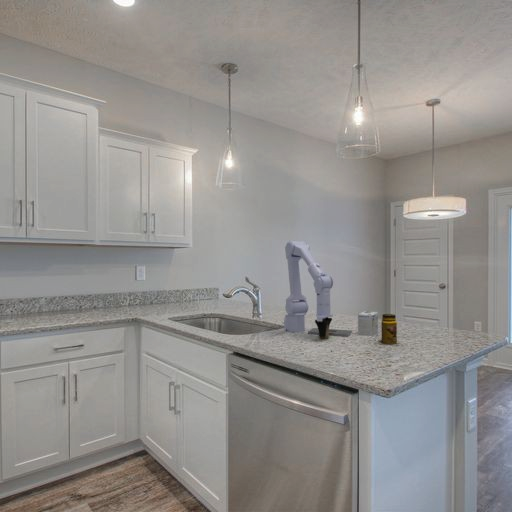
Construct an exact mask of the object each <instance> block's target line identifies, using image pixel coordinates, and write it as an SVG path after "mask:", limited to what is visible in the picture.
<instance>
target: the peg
mask: <svg viewBox="0 0 512 512" xmlns="http://www.w3.org/2000/svg"><path fill="white" fill-rule="evenodd" d="M329 329H330V327H329V328H328V325H327V328H326V335H325V337H320V335H318V336H319V339H329V337H330V336H329Z"/></svg>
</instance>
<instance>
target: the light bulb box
mask: <svg viewBox="0 0 512 512" xmlns="http://www.w3.org/2000/svg"><path fill="white" fill-rule="evenodd" d="M378 320H379V312H378V311H362V312H359V313H358V314H357V334H358V335H361V336H371V337H372V336H375V337H377V336H378V335H379V321H378Z"/></svg>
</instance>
